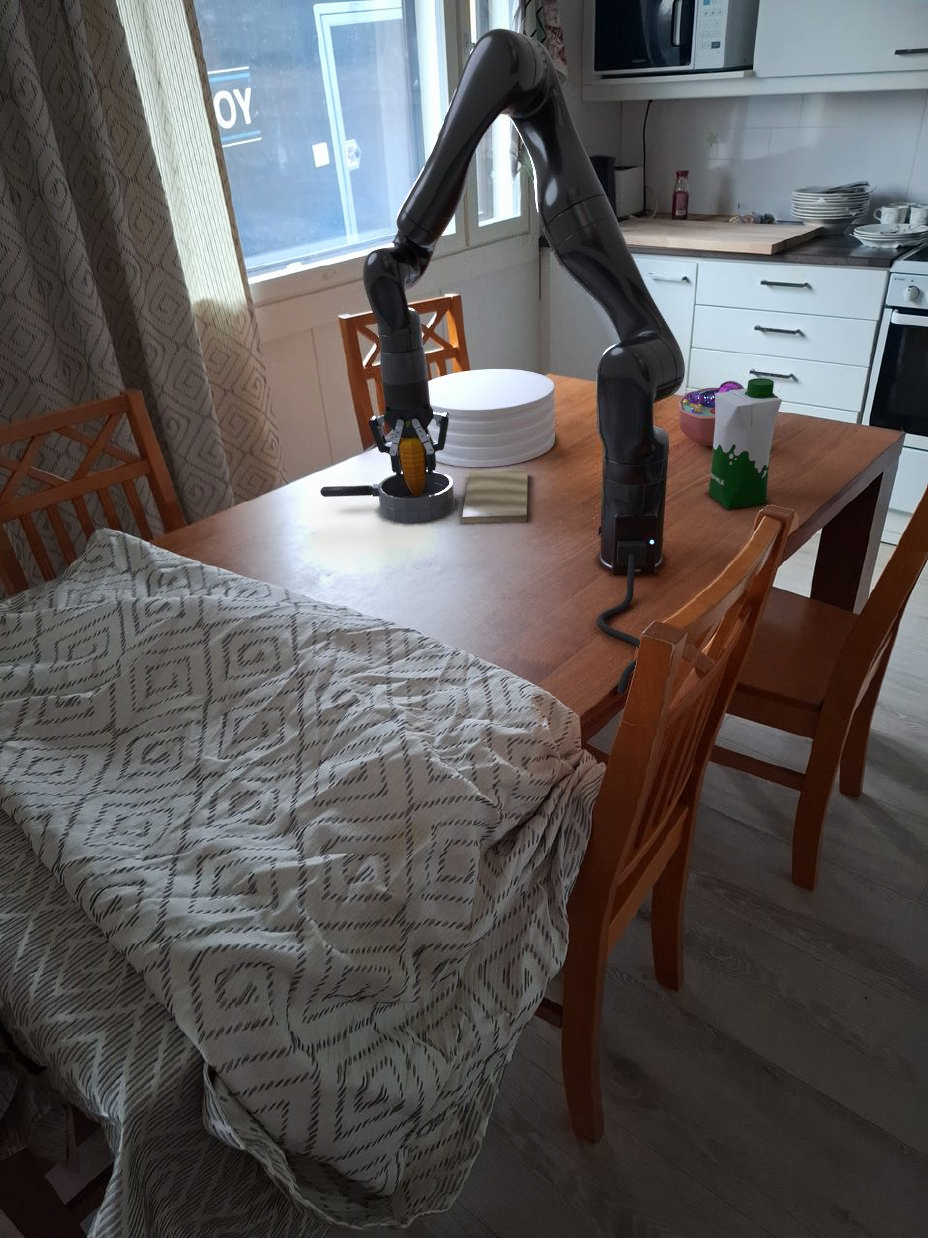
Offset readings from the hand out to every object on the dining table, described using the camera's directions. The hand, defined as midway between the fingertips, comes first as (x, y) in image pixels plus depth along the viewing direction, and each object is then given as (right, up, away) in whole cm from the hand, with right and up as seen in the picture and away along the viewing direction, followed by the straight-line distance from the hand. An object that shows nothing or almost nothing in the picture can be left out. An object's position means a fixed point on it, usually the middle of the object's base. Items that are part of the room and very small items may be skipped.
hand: (414, 473), depth 149 cm
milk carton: (+56, -5, -1) cm, 56 cm away
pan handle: (-12, -3, +3) cm, 13 cm away
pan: (0, -6, +4) cm, 7 cm away
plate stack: (+14, +11, +30) cm, 35 cm away
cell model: (+60, +10, +22) cm, 64 cm away
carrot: (0, -4, +2) cm, 5 cm away
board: (+14, -4, +5) cm, 16 cm away
